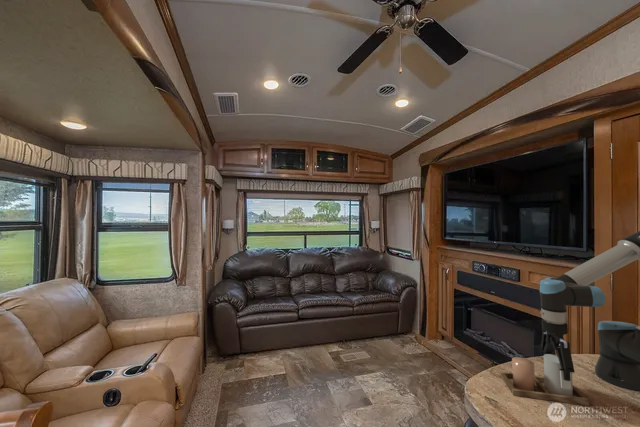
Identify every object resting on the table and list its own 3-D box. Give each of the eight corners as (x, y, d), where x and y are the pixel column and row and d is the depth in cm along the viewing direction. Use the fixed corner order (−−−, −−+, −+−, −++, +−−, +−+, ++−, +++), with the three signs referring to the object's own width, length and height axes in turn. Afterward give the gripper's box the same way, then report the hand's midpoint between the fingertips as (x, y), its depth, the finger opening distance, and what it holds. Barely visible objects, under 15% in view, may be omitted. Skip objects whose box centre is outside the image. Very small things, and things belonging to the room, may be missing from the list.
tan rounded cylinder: (530, 383, 107) (529, 358, 108) (539, 394, 101) (537, 367, 101) (510, 381, 109) (509, 356, 110) (517, 391, 103) (516, 364, 103)
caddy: (566, 385, 106) (566, 379, 107) (589, 407, 94) (588, 400, 94) (500, 377, 113) (500, 371, 113) (513, 396, 100) (513, 390, 101)
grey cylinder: (563, 386, 105) (562, 355, 106) (578, 399, 97) (577, 365, 98) (539, 383, 107) (538, 353, 107) (552, 396, 99) (552, 363, 99)
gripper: (528, 310, 115) (531, 363, 114) (559, 331, 93) (563, 396, 92) (549, 312, 113) (552, 365, 112) (586, 333, 91) (590, 400, 90)
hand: (557, 379), depth 102 cm, fingers open, 10 cm apart
